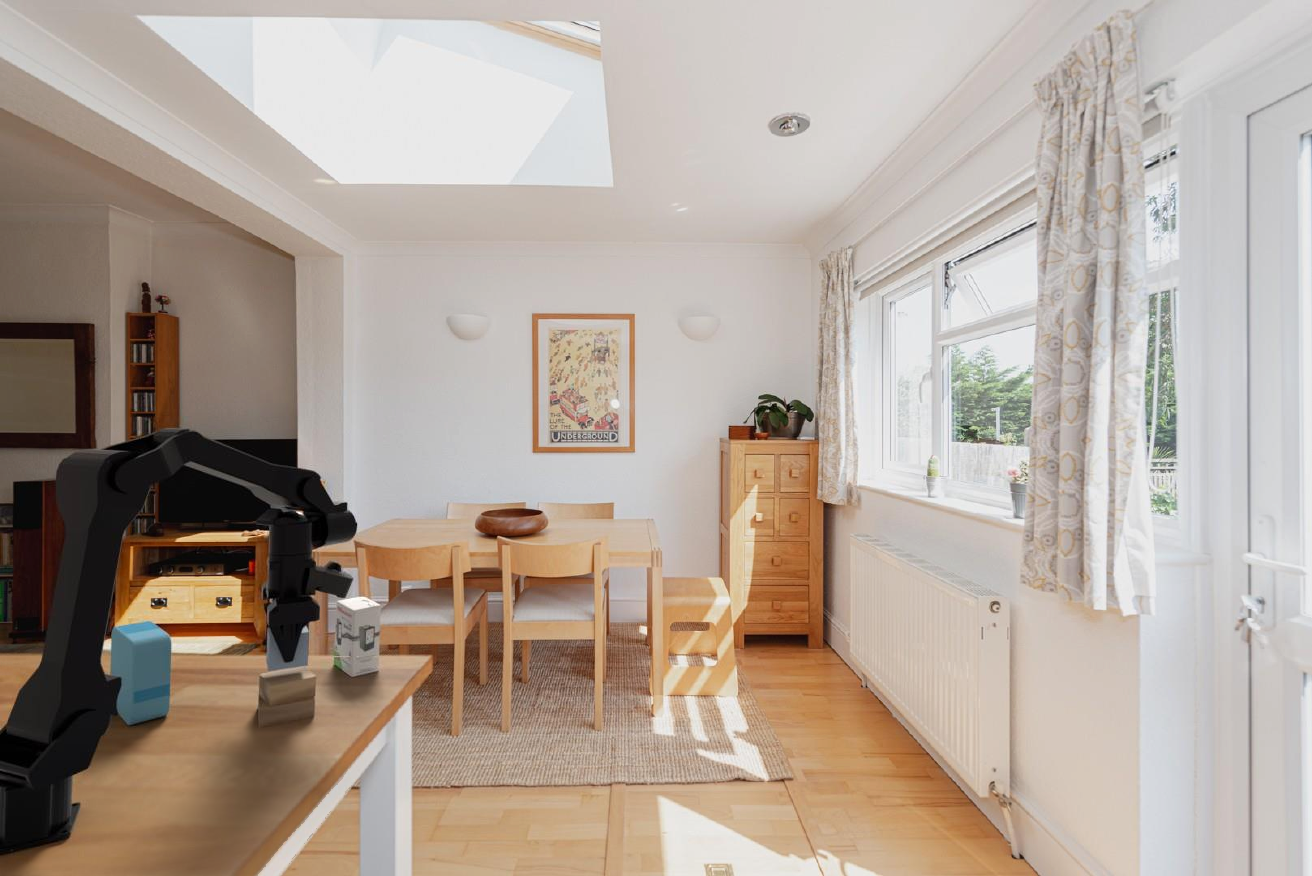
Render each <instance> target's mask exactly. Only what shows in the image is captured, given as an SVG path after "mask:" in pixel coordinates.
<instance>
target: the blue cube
mask: <svg viewBox="0 0 1312 876" xmlns="http://www.w3.org/2000/svg"><path fill="white" fill-rule="evenodd" d="M309 640H310V631H309V629H308V626H307V625H306V626H305V627H304V628H303V630H302V633H301V636H300V639H299V643H298V646H297V649H296V653H295V656H294V659H293V661H292V662H287V663H285V662H284V660H283V658H282V656H281V653H280V651H279V649H278V646H277V644H276V642H275V639H274V637H273V635H272V632H271V630H270V628H269V627H267V633H266V658H265V659H266V661H265V662H266V666H267V672H272V671H277V670H282V669H289V668H295V667H301V666H305V667H307V666H309V646H310V645H309V643H310V642H309Z"/></svg>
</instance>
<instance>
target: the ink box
mask: <svg viewBox="0 0 1312 876" xmlns="http://www.w3.org/2000/svg"><path fill="white" fill-rule="evenodd" d="M381 609H382V608H381V604H380V603H378V602H376V601H374V600H372V599H370V598H369V597H365V596H357V597H352V598H344V599H340V600H336V608H335V626H334V627H335V628H334V629H335V631H334V649H333V650H334V651H333V664H334V666H336V667H337V668H339V669H340V670H341V671H343V672H344V673H345V674H347V675H349V676H350V677H351V678H355V677H357V676H362V675H366V674H370V673H374V672H378V671H379V666H380V636H381V635H380V634H381ZM334 656H350V657H334ZM357 656H359V657H357ZM374 656H379V657H374Z"/></svg>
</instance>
